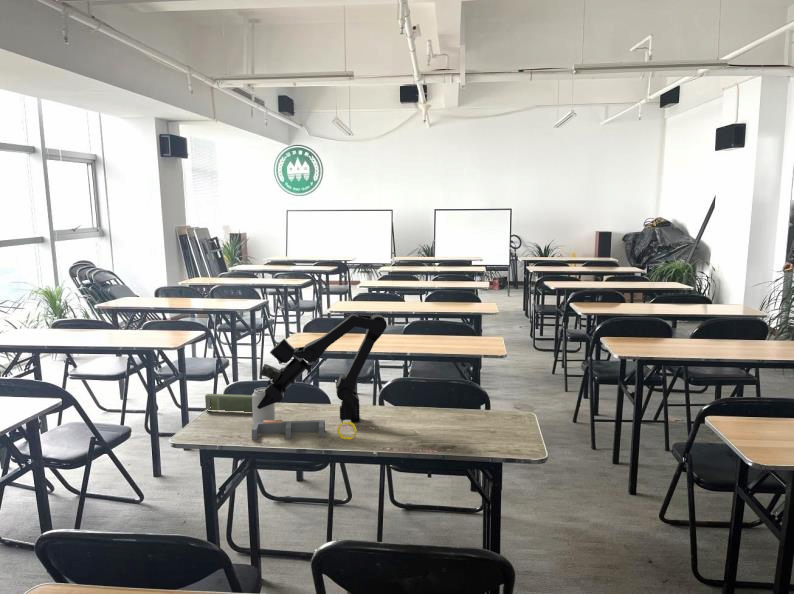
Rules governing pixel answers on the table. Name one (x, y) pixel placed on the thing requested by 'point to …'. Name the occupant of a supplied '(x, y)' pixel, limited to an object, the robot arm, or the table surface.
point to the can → (264, 412)
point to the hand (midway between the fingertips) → (259, 404)
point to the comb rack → (287, 427)
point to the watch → (351, 425)
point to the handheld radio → (229, 402)
